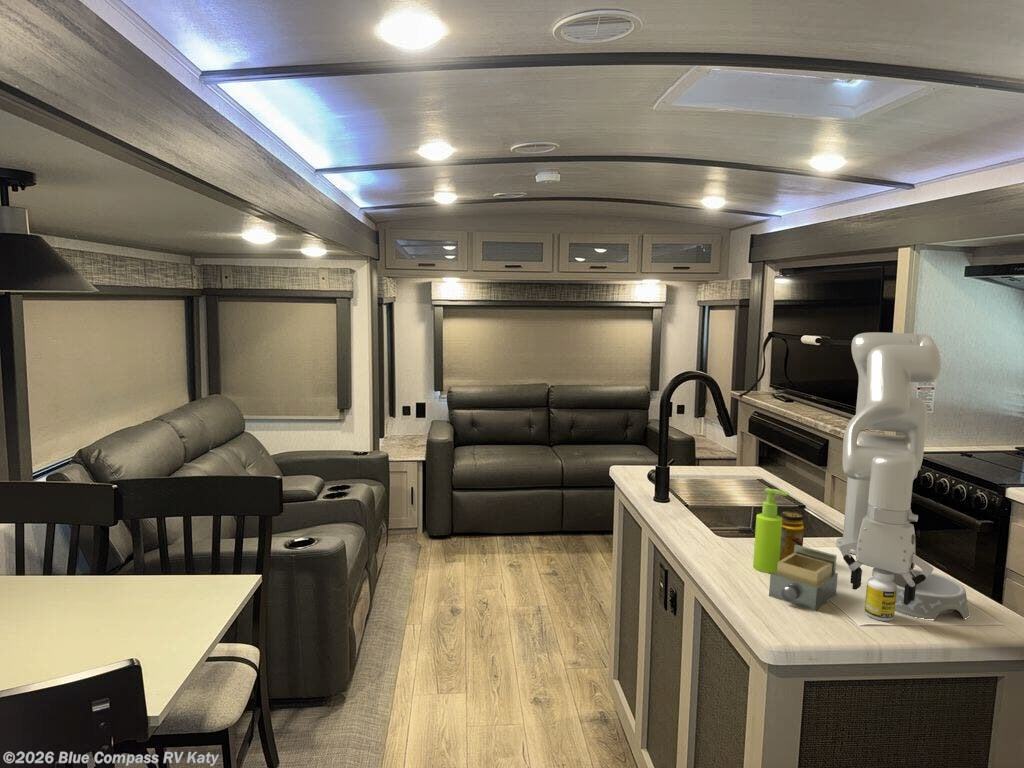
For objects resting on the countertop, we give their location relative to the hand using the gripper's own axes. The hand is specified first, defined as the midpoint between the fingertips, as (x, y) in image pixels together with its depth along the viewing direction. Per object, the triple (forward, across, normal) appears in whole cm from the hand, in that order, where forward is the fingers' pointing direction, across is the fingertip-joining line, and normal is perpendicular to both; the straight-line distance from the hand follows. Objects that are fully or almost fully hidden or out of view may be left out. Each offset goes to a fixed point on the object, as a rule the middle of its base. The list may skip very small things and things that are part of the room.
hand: (881, 595), depth 135 cm
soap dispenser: (+5, +27, -8) cm, 29 cm away
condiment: (+4, +27, -18) cm, 33 cm away
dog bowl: (+5, -4, -14) cm, 16 cm away
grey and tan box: (+5, +15, +2) cm, 16 cm away
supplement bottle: (+5, 0, 0) cm, 5 cm away
